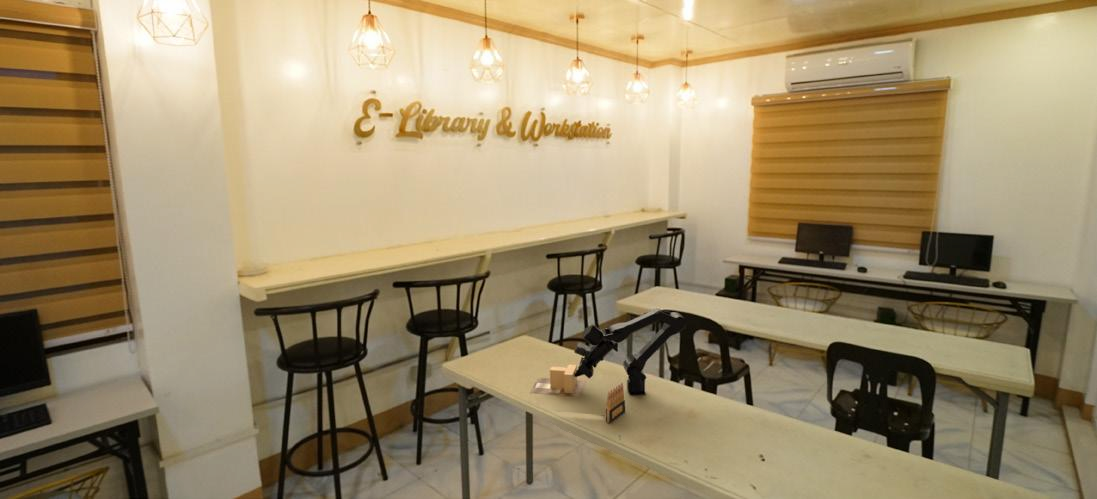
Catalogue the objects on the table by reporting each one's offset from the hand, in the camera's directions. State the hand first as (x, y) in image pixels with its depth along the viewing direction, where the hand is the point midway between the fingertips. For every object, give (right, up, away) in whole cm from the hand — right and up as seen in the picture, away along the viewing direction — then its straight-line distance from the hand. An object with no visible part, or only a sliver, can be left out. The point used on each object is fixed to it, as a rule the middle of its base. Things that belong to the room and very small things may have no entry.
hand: (575, 375), depth 214 cm
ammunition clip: (+14, -11, -20) cm, 27 cm away
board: (-7, -7, +3) cm, 10 cm away
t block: (-5, -5, +2) cm, 7 cm away
